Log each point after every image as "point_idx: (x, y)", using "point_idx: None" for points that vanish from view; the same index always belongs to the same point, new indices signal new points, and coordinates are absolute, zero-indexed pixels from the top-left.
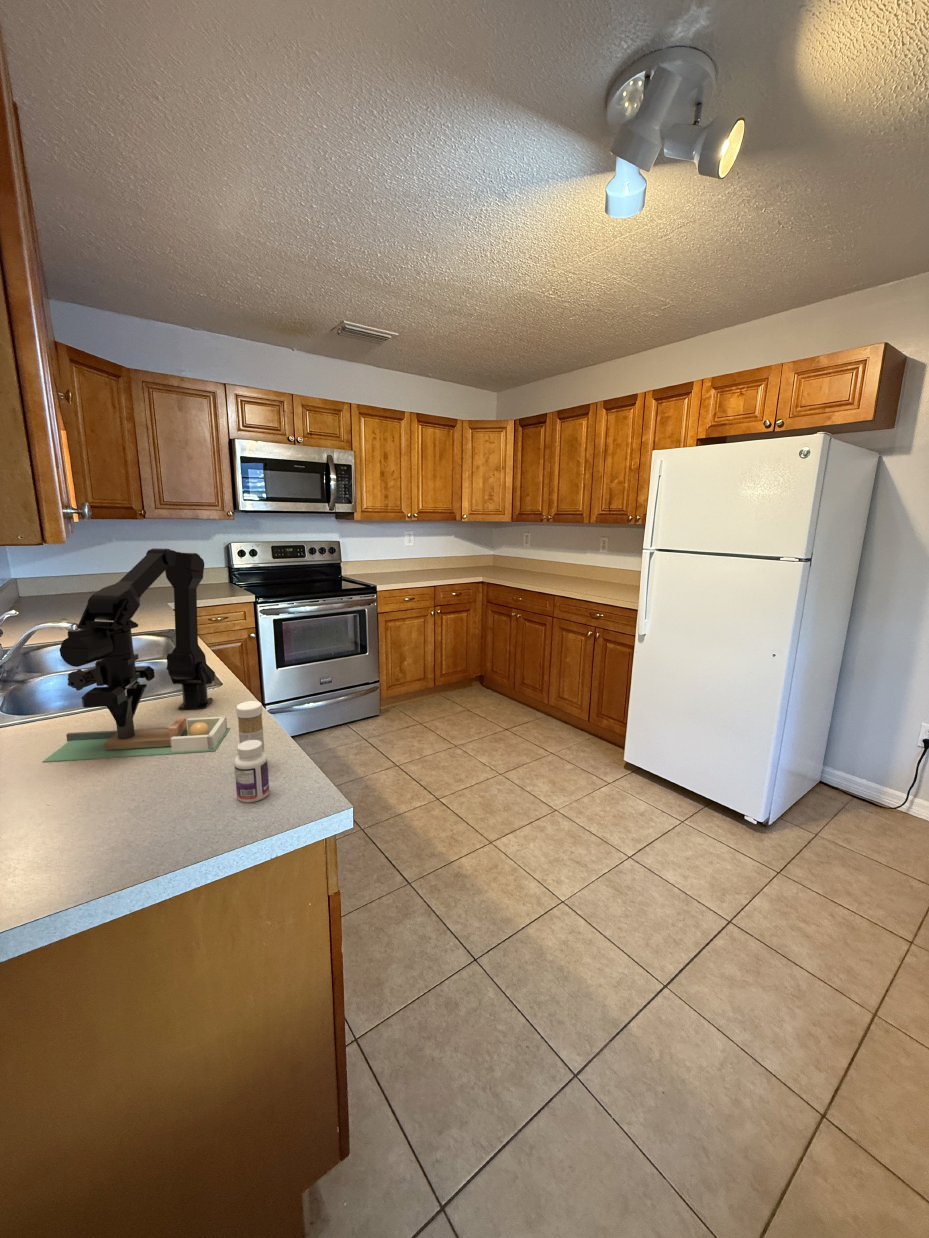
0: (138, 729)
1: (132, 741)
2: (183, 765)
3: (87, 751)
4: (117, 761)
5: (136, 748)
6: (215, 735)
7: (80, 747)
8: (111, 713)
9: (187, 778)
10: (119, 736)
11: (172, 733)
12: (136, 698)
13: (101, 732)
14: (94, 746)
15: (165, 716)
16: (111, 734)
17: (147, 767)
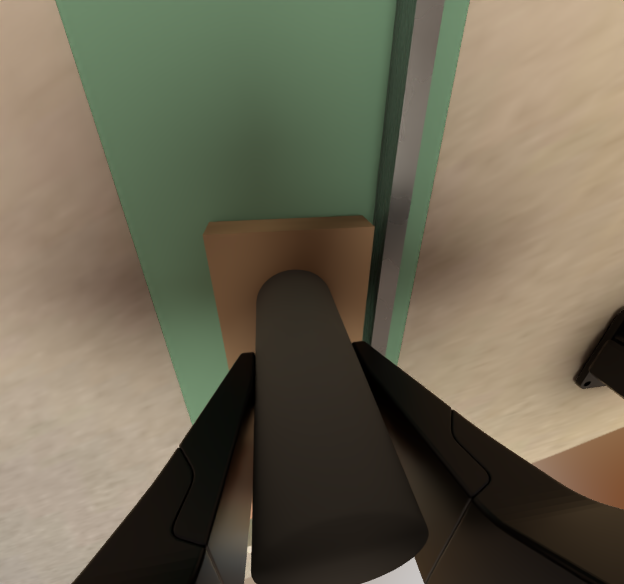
0: (388, 304)
1: (226, 356)
2: (125, 489)
3: (206, 115)
4: (119, 318)
5: None
6: None
7: (269, 23)
8: (171, 458)
9: (50, 522)
10: (259, 298)
11: None
12: (421, 563)
13: (401, 114)
14: (278, 122)
15: (571, 289)
16: (387, 175)
17: (91, 426)
